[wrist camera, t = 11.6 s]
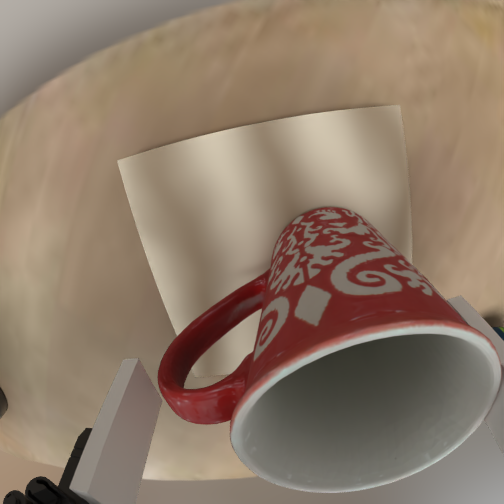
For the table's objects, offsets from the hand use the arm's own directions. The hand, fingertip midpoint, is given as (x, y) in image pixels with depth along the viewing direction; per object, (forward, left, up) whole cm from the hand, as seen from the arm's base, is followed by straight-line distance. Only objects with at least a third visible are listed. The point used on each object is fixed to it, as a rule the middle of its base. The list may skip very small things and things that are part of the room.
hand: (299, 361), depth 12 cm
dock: (0, 0, -12) cm, 12 cm away
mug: (+1, 0, -9) cm, 10 cm away
